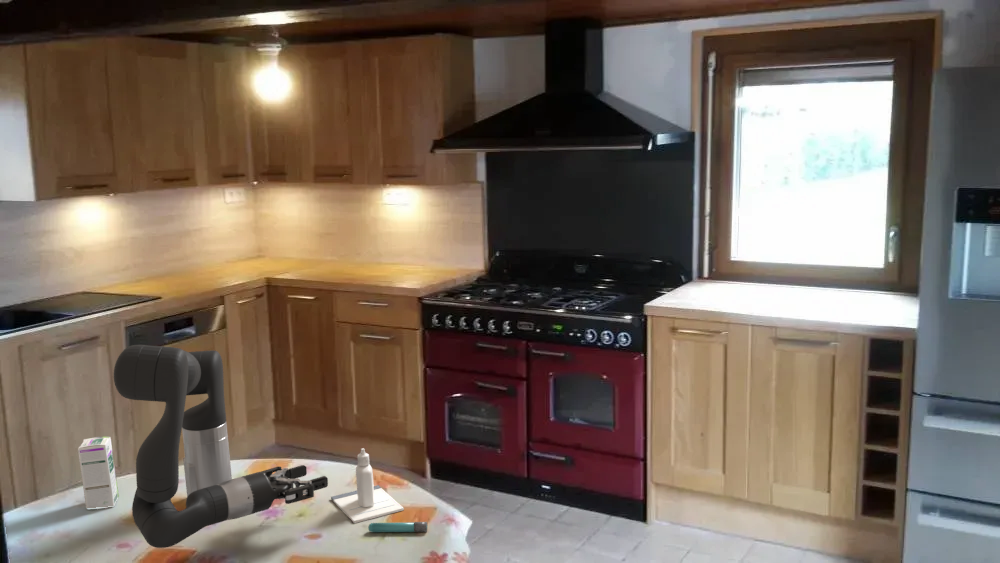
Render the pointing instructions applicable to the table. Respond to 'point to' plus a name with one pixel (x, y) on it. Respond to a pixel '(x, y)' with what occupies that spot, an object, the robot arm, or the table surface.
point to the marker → (398, 527)
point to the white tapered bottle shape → (364, 480)
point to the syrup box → (98, 472)
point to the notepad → (358, 513)
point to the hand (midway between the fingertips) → (316, 475)
